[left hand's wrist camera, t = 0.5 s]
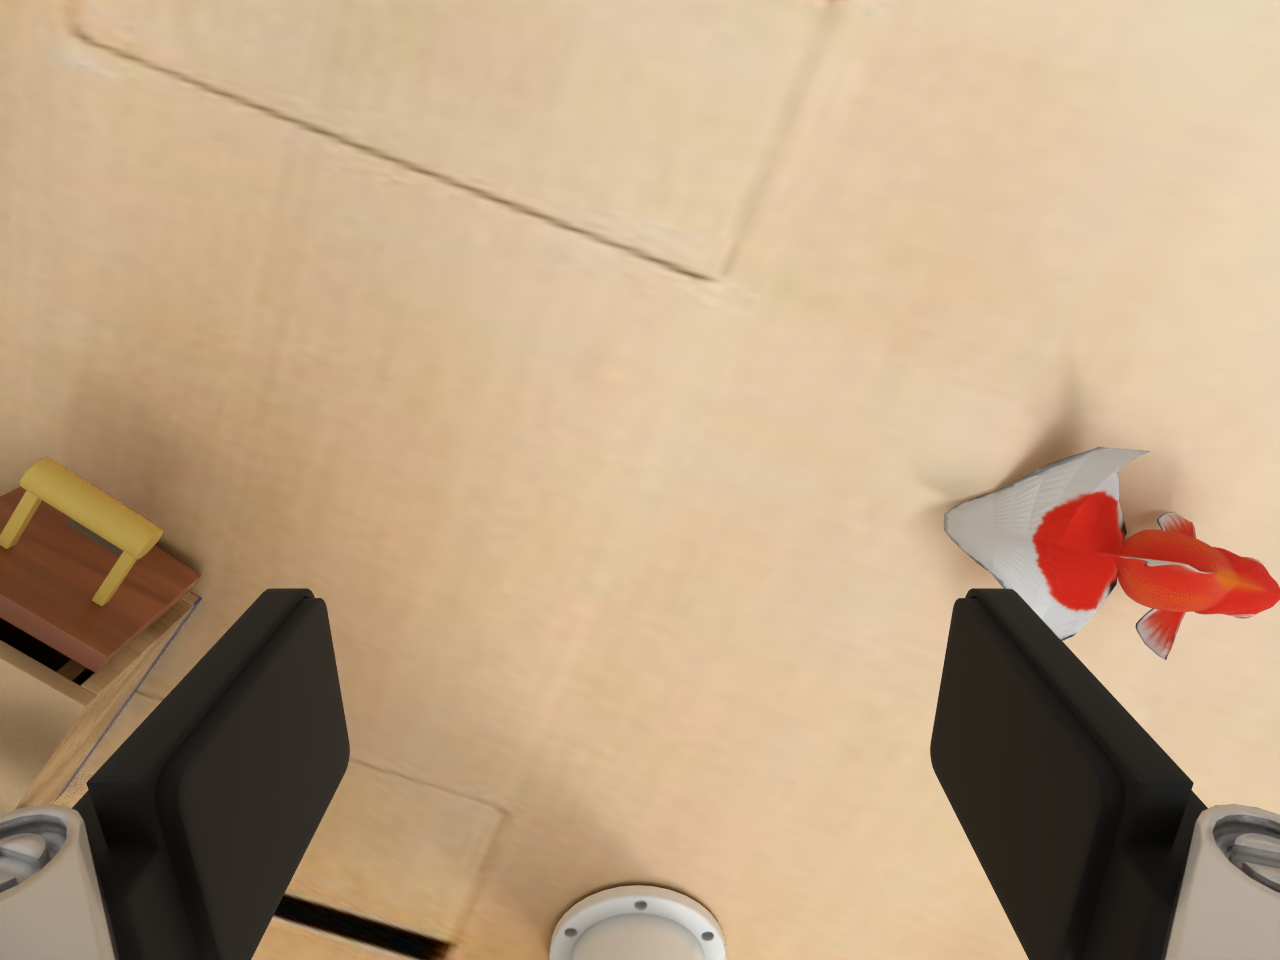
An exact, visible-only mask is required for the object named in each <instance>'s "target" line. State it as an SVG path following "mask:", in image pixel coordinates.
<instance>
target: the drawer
mask: <svg viewBox="0 0 1280 960" xmlns="http://www.w3.org/2000/svg"><path fill="white" fill-rule="evenodd" d="M19 485H20V486H21V487H19V488H17V489H15V490H13V491H11V492H9V493H7V494H5V495H3V496H0V640H1V641H3V642H5V643H6V644H8V645H10V646H12V647H13V648H15V649H17V650H19V651H20V652H22V653H24V654H26V655H27V656H29V657H31V658H33V659H34V660H36V661H38V662H39V663H41V664H43V665H45V666H46V667H48V668H50V669H52V670H53V671H55V672H57V673H59V674H60V675H62V676H64V677H66V678H67V679H69V680H71V681H73V682H74V683H76V684H78V685H81V684H82V683H84V682H85V681H86V680H87V679H88V678H89V677H90V676H92V675H93V674H94V673H98V672H99V671H100V670H101V669H102V668H104V667H105V666H106V665H107V664H108V663H109V662H110V661H111V660H112V659H114V658H115V657H116V656H117V655H118V654H119V653H120V652H121V651H123V650H124V649H125V648H126V647H127V646H128V645H129V644H130V643H132V642H133V641H134V640H135V639H136V638H137V637H138V636H139V635H140V634H142V633H143V632H144V631H145V630H146V629H147V628H148V627H149V626H151V625H152V624H153V623H154V622H155V621H156V620H157V619H158V618H160V617H161V616H162V615H163V614H164V613H165V612H166V611H167V610H169V609H170V608H171V607H172V606H173V605H174V604H175V603H176V602H177V601H179V600H180V599H181V598H182V597H183V596H184V595H185V594H186V593H188V592H189V591H190V590H191V589H192V588H193V586H194V585H195V583H196V582H197V581H198V579H199V578H200V576H201V575H200V574H199V573H197V572H196V571H194V570H193V569H191V568H189V567H188V566H186V565H185V564H183V563H181V562H180V561H178V560H177V559H175V558H174V557H172V556H170V555H169V554H167V553H166V552H164V551H163V550H161V549H159V548H158V547H156V546H155V544H156V543H157V542H158V540H159V539H160V538H161V536H162V534H163V530H162V529H160V528H159V527H157V526H156V525H154V524H153V523H151V522H150V521H148V520H146V519H145V518H143V517H142V516H140V515H139V514H137V513H135V512H134V511H132V510H131V509H129V508H128V507H126V506H125V505H123V504H121V503H120V502H118V501H117V500H115V499H114V498H112V497H110V496H109V495H107V494H106V493H104V492H103V491H101V490H100V489H98V488H96V487H95V486H93V485H92V484H90V483H89V482H87V481H85V480H84V479H82V478H81V477H79V476H78V475H76V474H75V473H73V472H71V471H70V470H68V469H67V468H65V467H64V466H62V465H60V464H59V463H57V462H56V461H54V460H53V459H51V458H48V457H46V458H43V459H41V460H39V461H38V462H36V463H35V464H34V465H32V466H31V467H30V468H29V469H28V470H27V471H26V472H25V474H24V475H23V476H22V478H21V480H20V483H19Z"/></svg>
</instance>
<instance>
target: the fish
mask: <svg viewBox="0 0 1280 960" xmlns="http://www.w3.org/2000/svg"><path fill="white" fill-rule="evenodd" d="M1147 452H1150V451H1142V450H1128V449H1114V448H1101V447H1098V448H1095V449H1092V450H1089V451H1086V452H1083V453H1080V454H1077V455H1074V456H1071V457H1068V458H1065V459H1062V460H1059V461H1056V462H1053V463H1050V464H1048V465H1046V466H1044V467H1042V468H1040V469H1038V470H1036V471H1035V472H1033V473H1031V474H1029V475H1027V476H1025V477H1023V478H1021V479H1019V480H1017V481H1015V482H1013V483H1011V484H1009V485H1007V486H1005V487H1003V488H1002V489H1000V490H998V491H996V492H993V493H990V494H986V495H983V496H980V497H976V498H974V499H971V500H969V501H966V502H964V503H962V504H960V505H958V506H956V507H954V508H952V509H950V510H949V511H948V512H947V513H946V514H944V530H945V532H946V533H947V534H948V536H949V537H950V538H951V539H952V540H953V541H954V542H955V543H956V544H957V545H958V546H959V547H960V548H961V549H962V550H963V551H964V552H965V553H967V554H968V555H969V556H970V557H971V558H972V559H974V560H975V561H976V562H977V563H978V564H980V565H981V566H982V567H984V568H985V569H986V570H987V571H989V572H990V573H991V574H993V576H994V577H995V578H996V579H997V581H998V582H999V583H1000V584H1001V586H1002V587H1003V588H1004V589H1013V590H1014V591H1016V592H1017V593H1018V594H1019V595H1020V596H1021V597H1022V599H1023V600H1024V601H1025V602H1026V603H1027V604H1028V605H1029V606H1030V607H1031V608H1032V609H1033V610H1034V611H1035V613H1036V614H1037V615H1038V616H1039V617H1040V618H1041V619H1042V620H1043V621H1044V622H1045V623H1046V624H1047V625H1048V627H1049V628H1050V629H1051V630H1052V631H1053V632H1054V633H1055V634H1056V635H1057V636H1058V637H1059V638H1060V639H1061V641H1062V640H1065V639H1067V638H1069V637H1072V636H1074V635H1075V634H1076V633H1077V632H1078V631H1079V630H1080V629H1081V628H1083V627H1084V626H1085V625H1086V624H1087V623H1088V622H1089V621H1090V619H1091V618H1092V617H1093V615H1094V614H1095V613H1096V612H1097V610H1098V609H1099V608H1100V606H1101V605H1102V604H1103V602H1104V601H1105V599H1106V598H1107V597H1108V595H1109V594H1110V593H1111V591H1112V590H1113V588H1114V587H1115V586H1116V584H1117V577H1118V580H1119V583H1120V585H1121V587H1122V589H1123V590H1124V592H1125V593H1126V595H1127V596H1128V597H1130V598H1131V599H1132V600H1134V601H1135V602H1137V603H1139V604H1141V605H1144V606H1147V607H1150V608H1153V609H1151V610H1150V611H1149V612H1147V613H1146V614H1145V615H1144V616H1143V617H1142V618H1141V619H1140V620H1139V621H1138V622H1137V623H1136V629H1137V632H1138V633H1139V635H1140V637H1141V638H1142V640H1143V642H1144V643H1145V644H1146V645H1147V646H1148V647H1149V648H1150V649H1151V650H1152V651H1154V652H1155V653H1156V654H1157V655H1158V656H1160V657H1162V658H1163V659H1165V660H1166V659H1167V656H1168V654H1169V652H1170V650H1171V648H1172V645H1173V643H1174V640H1175V636H1176V634H1177V631H1178V629H1179V626H1180V623H1181V620H1182V618H1183V617H1184V615H1185V613H1186V612H1189V611H1194V612H1196V613H1199V614H1226V615H1230V616H1234V617H1237V618H1250V617H1253V616H1254V615H1256V614H1257V613H1259V612H1261V611H1264V610H1266V609H1269V608H1271V607H1273V606H1274V605H1275V604H1276V603H1277V602H1278V601H1279V600H1280V588H1279V585H1278V584H1277V582H1276V581H1275V580H1274V579H1273V578H1272V577H1271V576H1270V575H1269V573H1268V571H1267V570H1266V568H1265V567H1264V565H1263V564H1262V563H1261V562H1260V561H1258V560H1256V559H1253V558H1249V557H1240V556H1238V555H1236V554H1234V553H1232V552H1230V551H1227V550H1225V549H1221V548H1216V547H1211V546H1209V545H1208V544H1206V543H1204V542H1202V541H1200V540H1198V539H1196V535H1195V528H1194V526H1193V523H1192V522H1190V521H1188V520H1186V519H1184V518H1183V517H1181V516H1180V515H1178V514H1177V513H1175V512H1169V513H1165V514H1163V515H1162V516H1160V517H1159V518H1158V519H1157V522H1158V524H1159V525H1160V527H1161V529H1162V530H1145V531H1141V532H1139V533H1137V534H1134V535H1133V536H1131V537H1130V538H1128V539H1127V540H1126V541H1125V542H1124V539H1125V536H1126V533H1127V532H1126V527H1125V523H1124V519H1123V515H1122V511H1121V507H1120V503H1119V480H1118V471H1119V469H1120V468H1121V467H1122V466H1124V465H1125V464H1127V463H1128V462H1130V461H1132V460H1133V459H1135V458H1137V457H1138V456H1140V455H1142V454H1145V453H1147ZM1123 542H1124V543H1123Z"/></svg>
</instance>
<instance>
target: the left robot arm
mask: <svg viewBox="0 0 1280 960" xmlns="http://www.w3.org/2000/svg"><path fill="white" fill-rule="evenodd" d="M349 754H350V747H349V739H348V733H347V727H346V721H345V715H344V709H343V703H342V697H341V691H340V685H339V679H338V673H337V667H336V661H335V655H334V649H333V643H332V637H331V631H330V625H329V619H328V612H327V607H326V604H325V602H324V600H323V599H321V598H315V597H314V595H313V593H312V591H311V590H309V589H267V590H266V591H264V592H263V593H262V594H261V595H260V596H259V597H258V599H257V600H256V601H255V602H254V603H253V604H252V605H251V606H250V607H249V608H248V609H247V610H246V611H245V613H244V614H243V615H242V616H241V617H240V618H239V619H238V620H237V621H236V622H235V623H234V624H233V625H232V627H231V628H230V629H229V630H228V631H227V632H226V633H225V634H224V635H223V636H222V637H221V638H220V639H219V641H218V642H217V643H216V644H215V645H214V646H213V647H212V648H211V649H210V650H209V651H208V652H207V654H206V655H205V656H204V657H203V658H202V659H201V660H200V661H199V662H198V663H197V664H196V665H195V666H194V668H193V669H192V670H191V671H190V672H189V673H188V674H187V675H186V676H185V677H184V678H183V679H182V680H181V682H180V683H179V684H178V685H177V686H176V687H175V688H174V689H173V690H172V691H171V692H170V693H169V694H168V696H167V697H166V698H165V699H164V700H163V701H162V702H161V703H160V704H159V705H158V706H157V707H156V708H155V710H154V711H153V712H152V713H151V714H150V715H149V716H148V717H147V718H146V719H145V720H144V721H143V722H142V724H141V725H140V726H139V727H138V728H137V729H136V730H135V731H134V732H133V733H132V734H131V735H130V736H129V738H128V739H127V740H126V741H125V742H124V743H123V744H122V745H121V746H120V747H119V748H118V749H117V750H116V752H115V753H114V754H113V755H112V756H111V757H110V758H109V759H108V760H107V761H106V762H105V763H104V764H103V766H102V767H101V768H100V769H99V770H98V771H97V772H96V773H95V774H94V775H93V776H92V777H91V778H90V780H89V781H88V782H87V786H88V789H89V790H88V791H87V792H86V794H85V795H84V796H83V797H82V798H81V799H80V800H79V801H78V802H77V803H76V805H75V806H74V807H73V808H69V807H67V806H65V805H51V804H43V805H37V806H30V807H23V808H20V809H17V810H14V811H11V812H7V813H4V814H1V815H0V960H251V959H252V957H253V955H254V953H255V951H256V949H257V947H258V945H259V943H260V941H261V939H262V937H263V935H264V933H265V931H266V929H267V927H268V925H269V923H270V921H271V919H272V917H273V915H274V913H275V911H276V909H277V907H278V905H279V903H280V901H281V899H282V897H283V895H284V893H285V891H286V889H287V887H288V885H289V883H290V881H291V879H292V877H293V875H294V873H295V871H296V869H297V867H298V865H299V863H300V861H301V859H302V857H303V855H304V853H305V851H306V849H307V847H308V845H309V843H310V841H311V839H312V837H313V835H314V833H315V831H316V829H317V827H318V825H319V823H320V821H321V819H322V817H323V815H324V813H325V811H326V809H327V807H328V805H329V804H330V802H331V800H332V798H333V796H334V794H335V792H336V790H337V788H338V786H339V784H340V782H341V780H342V778H343V776H344V774H345V771H346V769H347V766H348V762H349ZM930 754H931V762H932V766H933V769H934V771H935V774H936V776H937V778H938V780H939V782H940V784H941V786H942V788H943V790H944V792H945V794H946V796H947V798H948V800H949V802H950V804H951V806H952V807H953V809H954V811H955V813H956V815H957V817H958V819H959V821H960V823H961V825H962V827H963V829H964V831H965V833H966V835H967V837H968V839H969V841H970V843H971V845H972V847H973V849H974V851H975V853H976V855H977V857H978V859H979V861H980V863H981V865H982V867H983V869H984V871H985V873H986V875H987V877H988V879H989V881H990V883H991V885H992V887H993V889H994V891H995V893H996V895H997V897H998V899H999V901H1000V903H1001V905H1002V907H1003V909H1004V911H1005V913H1006V915H1007V917H1008V919H1009V921H1010V923H1011V925H1012V927H1013V929H1014V931H1015V933H1016V935H1017V937H1018V939H1019V941H1020V943H1021V945H1022V947H1023V949H1024V951H1025V953H1026V955H1027V957H1028V959H1029V960H1280V815H1279V814H1276V813H1273V812H1269V811H1266V810H1263V809H1260V808H1257V807H1250V806H1243V805H1237V804H1229V805H1215V806H1213V807H1211V808H1207V807H1206V806H1205V805H1204V803H1203V802H1202V801H1201V800H1200V799H1199V798H1198V797H1197V796H1196V795H1195V794H1194V792H1193V791H1192V790H1191V789H1192V786H1193V782H1192V781H1191V780H1190V778H1189V777H1188V776H1187V775H1186V774H1185V773H1184V772H1183V771H1182V770H1181V769H1180V768H1179V767H1178V766H1177V764H1176V763H1175V762H1174V761H1173V760H1172V759H1171V758H1170V757H1169V756H1168V755H1167V754H1166V753H1165V752H1164V750H1163V749H1162V748H1161V747H1160V746H1159V745H1158V744H1157V743H1156V742H1155V741H1154V740H1153V739H1152V738H1151V736H1150V735H1149V734H1148V733H1147V732H1146V731H1145V730H1144V729H1143V728H1142V727H1141V726H1140V725H1139V724H1138V722H1137V721H1136V720H1135V719H1134V718H1133V717H1132V716H1131V715H1130V714H1129V713H1128V712H1127V711H1126V710H1125V708H1124V707H1123V706H1122V705H1121V704H1120V703H1119V702H1118V701H1117V700H1116V699H1115V698H1114V697H1113V696H1112V694H1111V693H1110V692H1109V691H1108V690H1107V689H1106V688H1105V687H1104V686H1103V685H1102V684H1101V683H1100V682H1099V680H1098V679H1097V678H1096V677H1095V676H1094V675H1093V674H1092V673H1091V672H1090V671H1089V670H1088V669H1087V668H1086V666H1085V665H1084V664H1083V663H1082V662H1081V661H1080V660H1079V659H1078V658H1077V657H1076V656H1075V655H1074V654H1073V652H1072V651H1071V650H1070V649H1069V648H1068V647H1067V646H1066V645H1065V644H1064V643H1063V642H1062V641H1061V639H1060V638H1059V637H1058V636H1057V635H1056V634H1055V633H1054V632H1053V631H1052V630H1051V629H1050V628H1049V627H1048V625H1047V624H1046V623H1045V622H1044V621H1043V620H1042V619H1041V618H1040V617H1039V616H1038V615H1037V614H1036V613H1035V611H1034V610H1033V609H1032V608H1031V607H1030V606H1029V605H1028V604H1027V603H1026V602H1025V601H1024V600H1023V599H1022V597H1021V596H1020V595H1019V594H1018V593H1017V592H1016V591H1014V590H1013V589H971V590H969V591H968V593H967V595H966V597H965V598H959V599H957V600H956V602H955V604H954V607H953V612H952V618H951V625H950V631H949V637H948V643H947V649H946V655H945V661H944V667H943V673H942V679H941V685H940V691H939V697H938V703H937V709H936V715H935V721H934V727H933V733H932V739H931V746H930ZM549 959H550V960H726V948H725V941H724V935H723V933H722V931H721V928H720V926H719V924H718V922H717V921H716V920H715V918H714V917H713V916H712V914H711V913H710V912H709V911H708V910H706V909H705V908H704V907H703V906H702V905H701V904H699V903H698V902H696V901H694V900H693V899H691V898H689V897H687V896H686V895H683V894H680V893H678V892H675V891H672V890H669V889H665V888H660V887H655V886H642V885H633V886H620V887H616V888H611V889H607V890H603V891H600V892H598V893H595V894H593V895H590V896H588V897H586V898H585V899H583V900H581V901H580V902H578V903H576V904H575V905H574V906H573V907H572V908H570V909H569V910H568V911H567V912H566V913H565V914H564V915H563V917H562V918H561V919H560V921H559V922H558V924H557V925H556V927H555V930H554V932H553V935H552V939H551V946H550V953H549Z"/></svg>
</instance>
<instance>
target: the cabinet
mask: <svg viewBox="0 0 1280 960" xmlns="http://www.w3.org/2000/svg"><path fill="white" fill-rule="evenodd" d="M201 599H202V598H199V597H198V596H196V595H194V594H193V593H191V592H190V591H189V592H188V593H186V594H185V595H184V596H183V597H182V598H181V599H180V600H179V601H177V602H176V603H175V604H174V605H173V606H172V607H171V608H170V609H169V610H167V611H166V612H165V613H164V614H163V615H162V616H161V617H160V618H158V619H157V620H156V621H155V622H154V623H153V624H152V625H151V626H149V627H148V628H147V629H146V630H145V631H144V632H143V633H142V634H140V635H139V636H138V637H137V638H136V639H135V640H134V641H133V642H132V643H130V644H129V645H128V646H127V647H126V648H125V649H124V650H123V651H121V652H120V653H119V654H118V655H117V656H116V657H115V658H114V659H112V660H111V661H110V662H109V663H108V664H107V665H106V666H105V667H104V668H102V669H101V670H100V671H99V672H98V673H94V674H93V675H92V676H90V677H89V678H88V679H87V680H86V681H85V682H84V683H82V684H81V685H78V684H76V683H74V682H73V681H71V680H69V679H67V678H66V677H64V676H62V675H60V674H59V673H57V672H55V671H53V670H52V669H50V668H48V667H46V666H45V665H43V664H41V663H39V662H38V661H36V660H34V659H33V658H31V657H29V656H27V655H26V654H24V653H22V652H20V651H19V650H17V649H15V648H13V647H12V646H10V645H8V644H6V643H5V642H3V641H1V640H0V815H1V814H4V813H7V812H11V811H14V810H17V809H20V808H23V807H30V806H37V805H43V804H51V805H52V804H53V802H54V801H56V800H57V799H58V798H59V797H60V796H61V794H62V793H63V792H64V791H65V790H66V788H67V787H68V785H69V784H70V783H71V781H72V780H73V778H74V777H75V775H76V774H77V773H78V771H79V770H80V768H81V767H82V766H83V764H84V763H85V761H86V760H87V759H88V757H89V756H90V754H91V753H92V752H93V750H94V749H95V747H96V746H97V745H98V743H99V742H100V740H101V739H102V738H103V736H104V735H105V733H106V732H107V731H108V729H109V728H110V726H111V725H112V724H113V722H114V721H115V719H116V718H117V717H118V715H119V714H120V712H121V711H122V710H123V708H124V707H125V705H126V704H127V703H128V701H129V700H130V698H131V697H132V696H133V694H134V693H135V691H136V690H137V689H138V687H139V686H140V684H141V683H142V682H143V680H144V679H145V677H146V676H147V675H148V673H149V672H150V670H151V669H152V668H153V666H154V665H155V663H156V662H157V661H158V659H159V658H160V656H161V655H162V654H163V652H164V651H165V649H166V648H167V647H168V645H169V644H170V642H171V641H172V640H173V638H174V637H175V635H176V634H177V632H178V631H179V630H180V628H181V627H182V625H183V624H184V623H185V621H186V620H187V618H188V617H189V616H190V614H191V613H192V611H193V610H194V609H195V607H196V606H197V604H198V603H199V602H200V600H201Z"/></svg>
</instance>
